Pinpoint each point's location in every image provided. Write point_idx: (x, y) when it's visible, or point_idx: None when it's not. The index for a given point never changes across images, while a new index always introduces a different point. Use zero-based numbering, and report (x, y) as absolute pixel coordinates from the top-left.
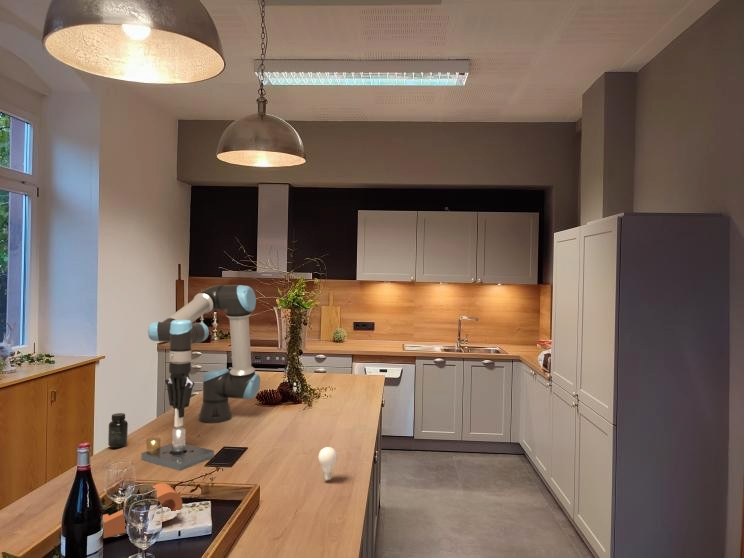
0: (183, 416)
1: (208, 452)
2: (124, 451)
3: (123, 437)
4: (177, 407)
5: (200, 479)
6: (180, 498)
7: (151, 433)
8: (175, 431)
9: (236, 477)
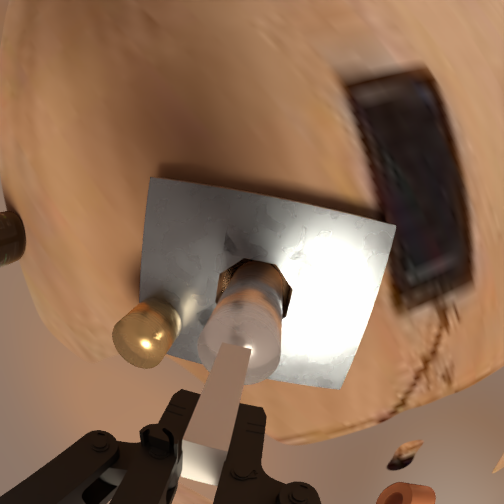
0: (263, 414)
1: (384, 255)
2: (55, 278)
3: (7, 246)
4: (180, 467)
5: (421, 393)
6: (434, 500)
7: (18, 107)
8: (244, 381)
9: (495, 343)
